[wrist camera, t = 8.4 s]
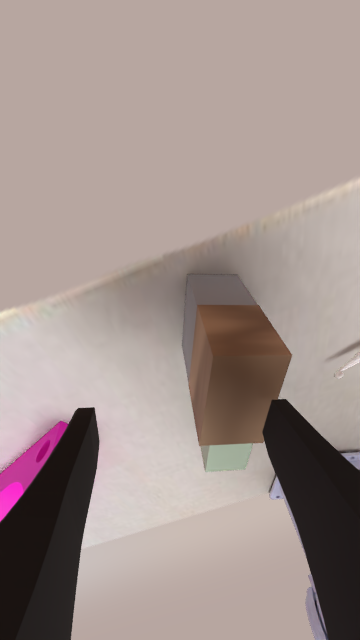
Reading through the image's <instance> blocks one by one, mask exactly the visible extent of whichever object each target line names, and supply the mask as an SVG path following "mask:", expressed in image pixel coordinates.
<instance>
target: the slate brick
mask: <svg viewBox="0 0 360 640" xmlns="http://www.w3.org/2000/svg"><path fill="white" fill-rule="evenodd" d="M197 305H257V303H256V302H255V300H254V299H253V297H252V296H251V294H250V293H249V291H248V290H247V288H246V287H245V285H244V284H243V282H242V281H241V279H240V278H239V276H238V275H218V274H187V284H186V298H185V311H184V325H183V339H182V348H183V354H184V360H185V365H186V371H187V377H188V382H189V377H190V367H191V358H192V349H193V339H194V330H195V321H196V311H197Z"/></svg>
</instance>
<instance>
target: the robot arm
mask: <svg viewBox="0 0 360 640" xmlns="http://www.w3.org/2000/svg"><path fill="white" fill-rule="evenodd" d="M262 433H263V437H264V441H265V445H266V448H267V451H268V455H269V458H270V460H271V463H272V465H273V468H274V470H275V473H276V478H275V481H274V483H273V486H272V489H271V491H270V494H269V497H270V499H284V501H285V503H286V506H287V508H288V511H289V514H290V516H291V519H292V521H293V524H294V527H295V529H296V532H297V534H298V537H299V540H300V542H301V545H302V548H303V550H304V553H305V555H306V558H307V561H308V564H309V568H310V571H311V574H310V575H308V577H309V579H310V582H311V585H312V587H309V588H308V589H307V596H306V610H307V615H308V619H309V622H310V626H311V629H312V632H313V634H314V638H315V640H360V452H353V453H339V452H338V451H337V450H336V449H335V448H334V447H333V446H332V445H331V444H330V443H329V442H328V441H326V440H325V439H324V438H323V437H322V436H321V435H320V434H319V433H318V432H317V431H316V430H315V429H314V428H313V427H312V426H311V425H310V424H309V423H308V422H307V421H306V420H305V418H304V417H303V416H302V415H301V414H300V413H299V412H298V411H297V410H296V409H295V408H294V407H293V406H292V405H291V404H290V403H289V402H288V401H287V400H286V399H277V400H272V401H271V404H270V407H269V411H268V414H267V417H266V421H265V424H264V428H263V431H262ZM98 451H99V435H98V428H97V421H96V415H95V408H94V407H93V408H78V409H77V410H76V411H75V413H74V415H73V417H72V419H71V421H70V422H69V424H68V426H67V428H66V430H65V431H64V433H63V435H62V436H61V438H60V440H59V442H58V443H57V445H56V446H55V448H54V449H53V451H52V453H51V454H50V456H49V457H48V459H47V460H46V462H45V463H44V465H43V466H42V468H41V469H40V471H39V472H38V473H37V475H36V476H35V478H34V479H33V481H32V482H31V483H30V485H29V486H28V488H27V489H26V490H25V492H24V493H23V494H22V496H21V497H20V498H19V499H18V501H17V502H16V503H15V504H14V506H13V507H12V508H11V509H10V511H9V512H8V513H7V514H6V516H5V517H4V518H3V519H2V520H1V522H0V640H71V631H72V622H73V612H74V602H75V594H76V585H77V576H78V568H79V560H80V552H81V544H82V539H83V533H84V528H85V523H86V518H87V513H88V508H89V503H90V499H91V494H92V489H93V484H94V479H95V474H96V469H97V461H98Z"/></svg>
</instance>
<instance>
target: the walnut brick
mask: <svg viewBox="0 0 360 640" xmlns="http://www.w3.org/2000/svg"><path fill="white" fill-rule="evenodd" d="M291 357H292V354H291V353H290V351H289V350H288V348H287V347H286V345H285V344H284V342H283V341H282V339H281V338H280V336H279V335H278V333H277V332H276V330H275V329H274V327H273V326H272V324H271V323H270V321H269V320H268V319H267V317H266V316H265V314H264V313H263V311H262V310H261V308H260V307H259V305H197V311H196V321H195V330H194V339H193V349H192V358H191V367H190V377H189V390H190V396H191V402H192V407H193V413H194V419H195V424H196V430H197V436H198V442H199V446H209V445H229V444H249V443H263V442H264V437H263V433H262V431H263V428H264V424H265V421H266V417H267V414H268V411H269V407H270V404H271V401H272V400H277V399H278V396H279V393H280V390H281V387H282V384H283V381H284V378H285V375H286V372H287V369H288V366H289V363H290V360H291Z"/></svg>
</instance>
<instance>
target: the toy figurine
mask: <svg viewBox="0 0 360 640" xmlns="http://www.w3.org/2000/svg"><path fill="white" fill-rule="evenodd" d="M355 355H356V356H354V357H353V358H352V359H350V360H349V361H348V362H347V363H346V364H345V365H343V366H342V367H341V368H340V369H338V370H337V371H336V372H335V374H334V376H335V377H336V378H337V379H338V378H342V377H343V375H344V373H343V372H342V371H344V370H345V369H347V368H349V367H351V366H353V365H355V364H357V363H360V352H359V353H357V354H355Z"/></svg>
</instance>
